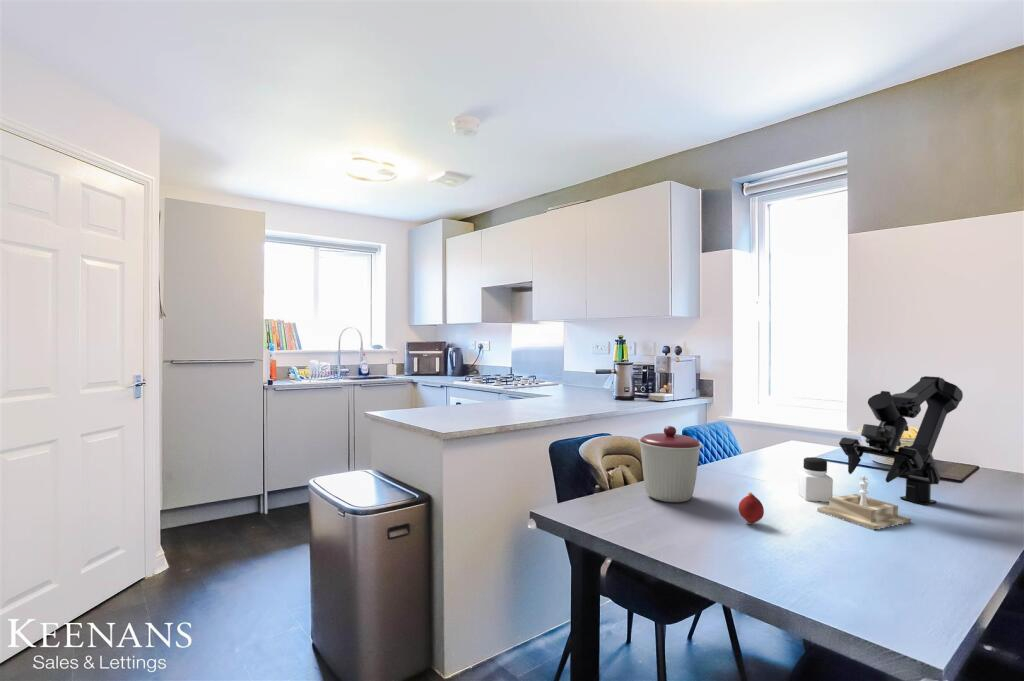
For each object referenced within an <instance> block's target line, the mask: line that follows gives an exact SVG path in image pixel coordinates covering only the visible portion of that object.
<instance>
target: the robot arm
mask: <svg viewBox="0 0 1024 681" xmlns="http://www.w3.org/2000/svg"><path fill="white" fill-rule="evenodd" d="M963 393H964V392H963V391H962V389H961V388H960V387H959V386H958V385H956V384H954V383H951V382H949V381H946V379H944V377H941V376H927V375H924V376H921V377H920V379H919V381H917V382H916V383H915V384H914V385H912V386H911V387H910V388H908V389H907V390H906V391H904V392H899V393H894V394H891V391H886V390H881V391H880V393H877V394H874V395H872V396H871V397H869V398H868V401H867V405H868V406H869V408H870V410H871V412H872V414H873V416H874V417H875V419H876V420H878V421H879V424H878V425H875V424H874V425H873V424H869V423H868V424H867V423H864V424H863V426H862V430H861V434H860V436H862V437H864V438H865V443H867V444H868V445H864V444H861V443H860V442H859V439H856V438H851V437H842V438H841V439H840V441H839V443H838V444H839V446H840V448H841V450H842V451H843V453H844V454H845V455H846V456H847V459H848V461H847V472H848V474H849V475H852V474H853V472H854V471H855V470H856V469H857V467H858V465H859V464H860V463H861V461H862V459H861V458H862V457H863V454H869V455H875V456H878V457H883V458H888V459H892V460H893V463H892V465H891V467H889V471H888V472H887V474H886V477H885V482H886V483H890V482H891V481H893V480H895V479H897V478H901V479H905V495H903V496H900V497H899V498H901V499H900V500H904V499H905V501H907V500H909V501H908V502H911V501H912V503H915V502H916V503H915V504H918V503H919V505H922V504H923V506H926V505H931V504H936V503H937V500H934V499H931V494H932V485H939V484H940V481H941V475H940V473H939V470H938V469H937V467H936V461H935V458H934V456H933V452H934V448H935V445H936V443H937V441H938V438H939V435H940V434H941V430H942V428H943V425H944V422H945V420H946V417H947V415H948V414H950V412H951V413H952V412H953V411H955V410H956V409H957V408H958V406H959V404H960V403H961V401H962V400H963V396H964V394H963ZM924 402H926V405H927V408H926V409H925V413H924V415H923V418H922V420H921V423H920V424H919V427H918V431H917V433H916V436H915V438H914V440H913V443H912V444H911V445H910V446H909V445H904V446H901V445H902V443H901V438H902V436H903V434H904V432H908V431H909V426H908V424H909V423H908V421H907V419H906V418H909V419H910V418H911V419H915V418H916V417H917V416H918V415H919V414H920V413H921V411H922V408H921V405H922V404H923V403H924ZM897 447H898V448H897ZM896 449H898V450H896Z"/></svg>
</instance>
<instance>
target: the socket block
mask: <svg viewBox="0 0 1024 681" xmlns="http://www.w3.org/2000/svg"><path fill="white" fill-rule="evenodd" d="M860 500H861V494H858V493H854V494H846V495H840V496H832V498H829V502H828V503H829V504H828V505H826V506H819V507H817V508H816V509H817V511H816V512H818V511H820V512H819V513H821V512H823V513H822V514H824V513H826V514H825V515H827V514H829V515H828V516H830V515H832V516H831V517H833V516H835V517H834V518H836V517H838V518H837V519H839V518H841V519H840V520H842V519H844V520H843V521H845V520H847V521H846V522H848V521H850V522H849V523H851V522H853V523H852V524H854V523H856V524H855V525H857V524H859V525H858V526H860V525H862V526H861V527H863V526H865V527H864V528H866V527H868V528H867V529H869V528H871V529H870V530H872V529H878V530H880V529H879V528H883V527H888V526H892V525H897V526H899V525H898V524H902V523H907V522H911V523H912V518H910V517H906V516H903V515H899V505H896V504H893V503H889V502H886V501H883V500H879V499H875V498H872V497H869V496H866V501H867V507H865V506H862V505H860ZM907 524H908V523H907ZM902 525H903V524H902ZM892 527H893V526H892ZM888 528H889V527H888ZM883 529H884V528H883Z"/></svg>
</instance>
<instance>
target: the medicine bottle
mask: <svg viewBox="0 0 1024 681" xmlns="http://www.w3.org/2000/svg"><path fill="white" fill-rule="evenodd" d="M797 473H798V474H797V494H798V495H799V496H800V497H801V498H802V497H803V498H802V499H803V500H804V501H807V502H817V501H821V502H822V503H829V498H833V485H834V484H833V481H834V480H833V478H832V477H830V476H829V475H828V461H827V460H826V459H825V458H822V457H817V456H807V457H805V458H803V470H798V472H797Z"/></svg>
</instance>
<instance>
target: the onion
mask: <svg viewBox="0 0 1024 681" xmlns="http://www.w3.org/2000/svg"><path fill="white" fill-rule="evenodd" d="M747 494H748V495H746V496H745V497H743V498H742V499H741V500H740V502H739V503H738V512H739V514H740V516H741V517H742V518H743V520H745V521H746V522H747V524H749V525H753V524H755V523H757V522H759V521H760V520H762V518H763V517H764V515H765V510H764V509H765V508H764V506H763V504H762V501H760V499H759V498H758V497H757V496H755V495H754V494H753V493H752V492H751V491H749V492H748V493H747Z"/></svg>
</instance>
